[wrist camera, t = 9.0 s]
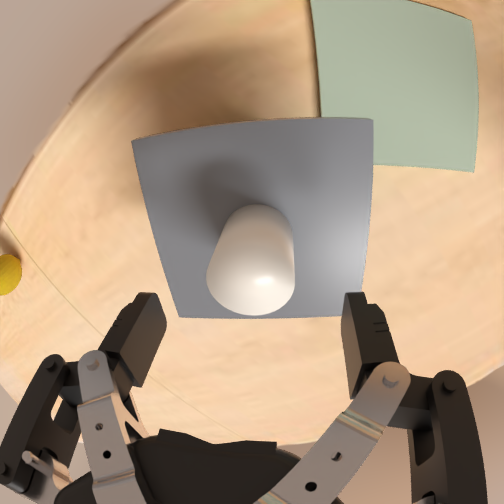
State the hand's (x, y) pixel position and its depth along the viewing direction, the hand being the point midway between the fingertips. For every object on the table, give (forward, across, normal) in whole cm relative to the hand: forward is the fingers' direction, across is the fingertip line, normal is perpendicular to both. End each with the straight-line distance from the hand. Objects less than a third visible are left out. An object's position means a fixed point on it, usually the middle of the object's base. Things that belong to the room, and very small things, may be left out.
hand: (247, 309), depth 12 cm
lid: (+7, 0, 0) cm, 7 cm away
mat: (+16, -13, -10) cm, 23 cm away
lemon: (+16, +39, +7) cm, 43 cm away
